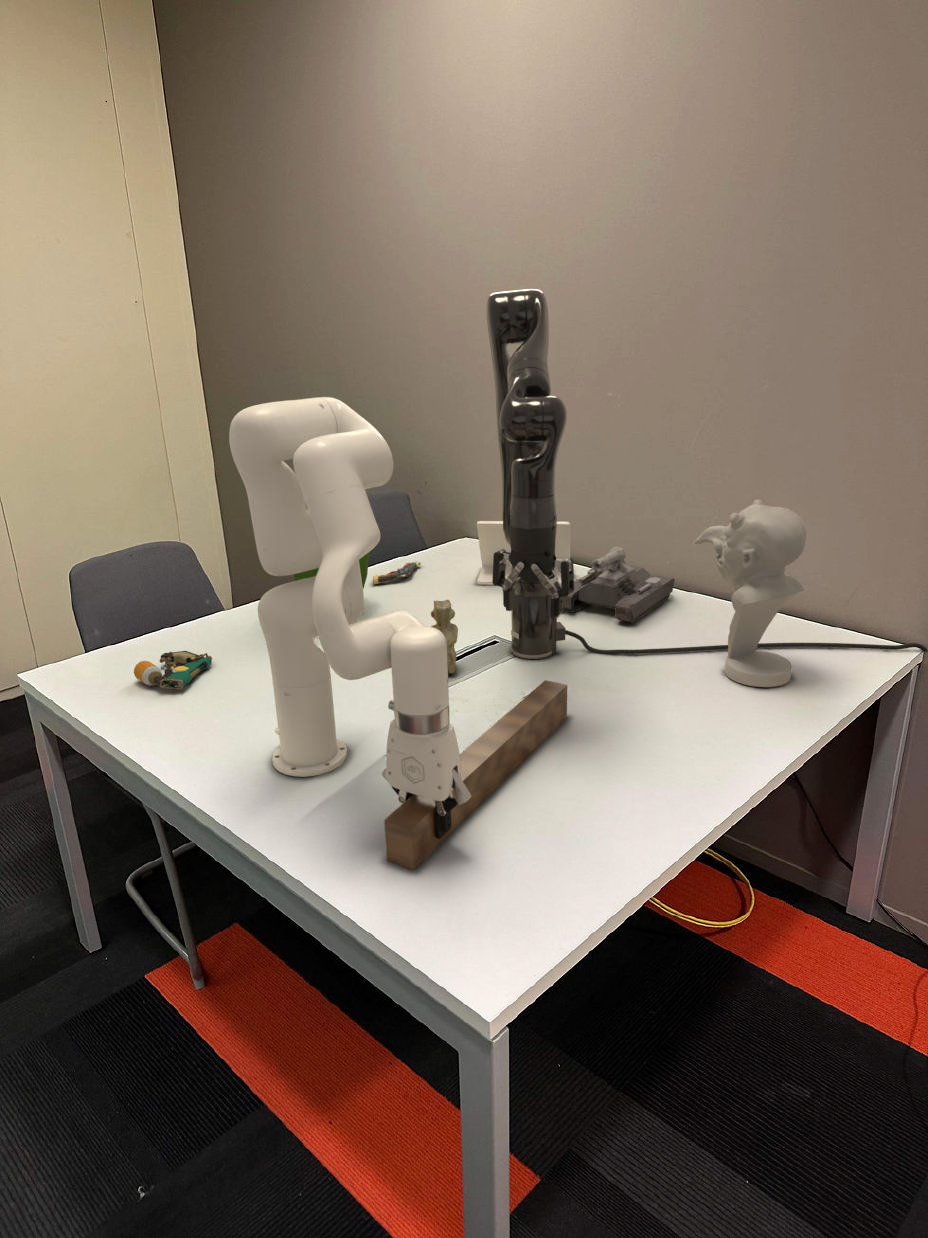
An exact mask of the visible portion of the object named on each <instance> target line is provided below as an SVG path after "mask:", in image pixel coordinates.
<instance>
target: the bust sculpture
mask: <svg viewBox="0 0 928 1238" xmlns="http://www.w3.org/2000/svg"><path fill="white" fill-rule="evenodd" d="M806 529H807V528H806V526H805V524H804V521H803V520H802V519H801V517H800V516H799V515H798V514H797V513H796V512H794V511H793V510H791V509H789V508H786V507H781V506H770V505H766V504H764V502H763V501H762V500H761V499H755V500H753V502H752V504H751V505H748V506H747V507H745V508H743V509H742V510H741V511H739V513H738V512H733V513H732V514H730V516H729V523H728V525H727V526H725V525H713V526H709V527H707V528H706V529H704V530H703V531H702V532H701V534H699V536H698V537H697V538H696V539H695V540H694V542H693V544H694V545H695V546H696V545H697V546H698V545H703V544H707V543H712V544H713V548H714V551H715V552H716V554H717V555H716V556H715V564H716V566H717V569H718V571H719V573H720V575H721V577H722V579H723V580H724V581H726V582H727V583H728V584H729V585H731V587H732V588H734V589H735V591H734V592H733V594H732V596H731V600H730V601H731V604H732V608H733V610H734V613H733V616H732V618H731V622H730V624H729V633H728V635H727V636H728V637H727V645H728V649H727V656H726V658H725V663H724V664H725V665H724V674H725V675H726V677H728V678H729V679H730V680H732V681H734V682H736V683H739V684H741V685H745V686H748V687H749V686H750V687H758V688H774V687H780V686H783V685H785V684H788V683H789V682H790V680H791V677H792V668H793V664H792V662H791V661H790V660H789V659H788V658H786V657H784V656H782V655H780V654H777V653H774V652H769V651H765V650H757V649H758V648H757V646H758V644H759V643H760V641H761V639H763V638H762V637H763V636H764V635H765V632H766V631H767V629H768V627H769V625H770V624H771V622H772V621H773V619H774V618H775V617H776V616H777V614H778V613H779V612H780V610H781V609H782V608H783V607H784V606H785V605H786V604H787V603H788V602H789V601H790V600H791V599H793V597H795V596H797V595H798V594H799V593H801V592H804V591H805V588H804V586H803V585H802V583H801V582H800V581H799V580H798V579H797V578H795V577H793V576H790V575H786V574H785V573H786V569H785V568H786V567H787V566H789V565H791V564H793V563H794V562H795V561H797V560H798V559H800V557H801V555H802V554H803V552H804V550H805V547H806V540H807V530H806Z"/></svg>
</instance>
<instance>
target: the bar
mask: <svg viewBox="0 0 928 1238" xmlns="http://www.w3.org/2000/svg"><path fill="white" fill-rule="evenodd" d="M567 718H568V684H565V683H561V682H555V681H552V680H546V679H545V680H544V681H542V682H541V683H540V684H539V685H538V686H536V687H535V688H534V689H533V690H531V692H530V693H528V694H527V695H526V696H525V697H524V698H523V699H522V700H520V701H519V702H518V703H517V704H516V705H515V706H513V707H512V708H511V709H510V710H509V711H508V712H507V713H506V714H505V715H503V716H502V717H501V718H500V719H499V720H497V721H496V722H495V723H493V725H492V726H490V727H489V728H488V729H487V730H485V732H484V733H482V734H481V736H479V737H477V739H475V740H474V741H473V742H472V743H471V744H469V746H467V747H466V748H465V749H464V750H463V751H462V752H461V753H459V756H460V766H461V779H462V781H463V783H464V784H465V786H466V787H467V789H468V791H469V792H470V794H471V798H470V799H469V800H468V801H467V802H465V803H463V804H460V805H458V806H456V807H454V808H453V809H452V810H451V822H452V826H451V829H450V830H449V831H448V832H447V833H446V834H445V835H444V836H443V837H442V838H441V839H438V838H436V837H435V822H434V815H435V814H436V813H437V808H436V805H435V801H434V800H431V799H428V798H425V797H422V796H418V795H415V794H413V795H412V796H411V797H410V798H409V799H408V800H406V801H405V802H404V803H403V804H402V803H401V805H399V807H397V808H396V809H395V810H393V812H391V813H390V814H389V815H388V816H387V817H385V818H384V819H383V822H384V836H385V837H384V839H385V849H386V850H385V852H386V861H387V862H388V863H389V862H390V863H392V864H395V865H398V866H401V867H404V868H406V869H408V870H412V871H415V870H416V869H417V868H418V867H419V866H420V865H421V864H422V863H423V862H424V861H425V860H426V859H427V858H428V857H429V856H430V855H431V854H432V853H433V852H434V851H435V850H436V849H437V848H438V847H439V846H440V845H441V844H442V843H443V842H444V841H445V840H446V839H447V838H448V837H449V836H450V835H451V834H452V833H453V832H454V831H455V830H456V829H457V828H458V827H459V826H460V825H461V824H462V823H463V822H464V821H465V820H466V819H467V818H468V817H469V816H470V815H471V814H472V813H473V812H474V811H475V810H476V809H478V807H479V806H480V805H481V804H482V803H483V802H484V801H485V800H486V799H487V798H488V797H489V796H490V795H492V793H493V792H494V791H496V789H497V788H498V787H500V785H501V784H502V783H503V782H505V780H506V779H507V778H508V777H510V775H511V774H512V773H513V772H515V770H516V769H517V768H518V767H519V766H520V765H521V764H522V763H523V762H525V761H526V759H527V758H529V756H530V755H532V754H533V752H534V751H535V750H536V749H537V748H538V747H539V746H540V745H541V744H542V743H543V742H545V740H546V739H548V737H549V736H550V735H551V734H553V732H554V731H555V730H556V729H557V728H558V727H560V725H561V724H562V723H563V722H565V720H567ZM451 792H452V795H453V796H454V795H456V793H455V791H454V790H453V788H452V789H451ZM444 803H445V800H444Z"/></svg>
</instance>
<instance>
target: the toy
mask: <svg viewBox="0 0 928 1238" xmlns="http://www.w3.org/2000/svg"><path fill="white" fill-rule="evenodd" d="M626 557H627V556H626V551H625V549H624V548H622V547H621V546H614V547H612V548H611V549H610V550H609V552H608V553H607V554H605V555H604V556H601V557H599V558H598V559H597V557H596V558H594V559H593V560H592V561H590V562H589V563H590V564H591V565H592V567H591V568H590V569H589V570H587V573H586V575H584V576H582V577H580V578H578V579H577V580H574V592H572V593H571V594H569V595H568V596H566V597H565V596H563V611H566V612H572V613H575V612H577V611H579V610H581V609H582V608H585V607H586V606H588V605H592V606H598V607H602V608H603V607H604V608H609V609H613V610H614V618H615V619H617V620H618V621H621V622H626V623H631V624H634V623H635V622H637V621H638V620H640V619H641V618H642V617H644V616H645V615H647V614H648V613H650V612H651V611H652V610H654V609H655V608H657V607H659V606H660V605H661V604H663V603H664V602H666V601H667V600H669V598H670V596H671V594H672V593H673V591H674V585H675V580H676V579H675V578H673V577H668V576H663V575H656V576H655V577H654V576H651V574H650V573H649V572H648V571H647V570H646V568H644V567H641V566H635V565H629V564H628V563H627V562H626V561H625V559H626Z"/></svg>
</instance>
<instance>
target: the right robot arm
mask: <svg viewBox="0 0 928 1238" xmlns="http://www.w3.org/2000/svg"><path fill="white" fill-rule="evenodd" d="M549 318H550V317H549V307H548V301H547V298H546V296H545V294H544V292H543V291H541V290H540V289H538V288H537V289H536V288H535V289H534V288H527V289H517V290H516V289H515V290H507V291H498V292H493V293H491V294H489V296H488V297H487V302H486V321H487V322H486V323H487V331H488V339H489V347H490V354H491V361H492V368H493V369H492V370H493V377H494V378H493V379H494V386H495V387H494V389H495V409H496V410H495V411H496V428H497V440H498V441H497V442H498V449H499V457H500V458H499V459H500V468H501V469H500V470H501V484H502V489H501V490H502V521H503V531H504V537H505V540H506V542H507V543H508V544H510V547H511V552H510V553H509V552H506V550H505V549H501V550H499V551H497V552H495V553H494V556H493V580H492V582H493V584H494V585H493V586H496V587H497V586H498V587H500V588H501V589H502V605H503V607H504V608H505V611H506V612H510V615H511V617H510V618H511V621H510V622H511V630H510V635H511V643H510V644H511V647H510V651H511V653H512V655H513V656H515V657H518V658H521V659H525V660H526V659H527V660H540V659H545V658H548V657H550V656H552V655H557V654H558V653H557V650H558V649H557V648H558V647H557V645H558V644H557V643H558V642H561V641H563V642H564V641H566V636H569V637H571V638H574V639H576V640H578V641H579V642H580V643H581V644H582V646H583V647H584V649H586V650H587V651H588V652H590V653H592V654H593V653H594V654H600V655H601V654H602V655H641V654H642V655H643V654H664V653H665V654H667V653H684V652H686V653H687V652H702V651H721V650H728V644H719V645H702V646H701V645H700V646H684V647H683V646H682V647H663V648H642V649H641V648H640V649H598V648H594V647H593V646H590V645H589V644H588V643H587V641H586V639H585V638H584V637H583V636H582V635H580V634H578V633H576V632H573V631H571V630H567V629H566V627H565V626H564V625H563V623H562V622H561V621H558V618H559V617H560V616H561V615H562V614H563V611H564V610H563V596H565V597H566V596H568V595H569V594H571V593H572V592H574V582H575V571H574V559H573V558H572V557H570V558H568V559H566V560H565V559H557V558H556V556H555V543H556V529H557V522H558V514H557V505H556V497H555V476H556V464H557V457H558V453H559V449H560V445H561V442H562V439H563V436H564V432H565V429H566V426H567V421H568V412H567V408H566V405H565V402H563V400H562V399H561V398H560V397H558V396H554V395H551V392H552V391H551V390H552V387H551V380H550V372H549V366H548V356H549V346H550V345H549V340H550V333H549V332H550V323H549V322H550V320H549ZM509 345H519V347H517V348H516V349H515V351H514V352H513V354H512V355H511V356H510V354H509V351H508V346H509ZM508 560H509V561H510V563H511V565H512V567H511V573H510V575H509V576H508V577H507V579H506V578H505V573H506V563H507V562H508ZM555 566H557V567H558V571H559V572H560V573H561V584H560V583H559V579H558V577H557V575H556V574H555V572H554V568H555ZM763 648H765V649H766V648H838V649H839V648H841V649H843V648H844V649H867V650H887V651H888V650H889V651H891V650H892V651H897V650H898V651H899V650H904V649H905V650H907V649H911V648H915V649H919V650H921V652H924V653H925V652H928V648H927V647H926V646H924V645H923V644H921V643H918V642H909V643H904V644H896V645H895V644H893V645H892V644H871V643H848V642H847V643H846V642H844V643H843V642H764V643H762V642H761V643H760V642H759V643H758V646H757V648H756V649H763Z"/></svg>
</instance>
